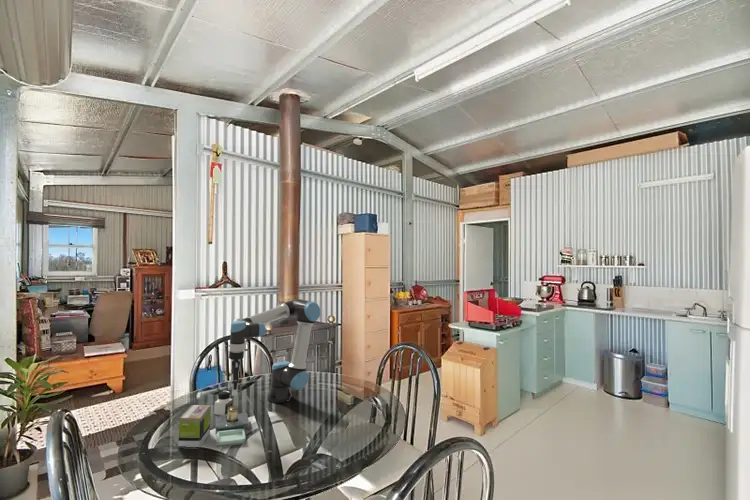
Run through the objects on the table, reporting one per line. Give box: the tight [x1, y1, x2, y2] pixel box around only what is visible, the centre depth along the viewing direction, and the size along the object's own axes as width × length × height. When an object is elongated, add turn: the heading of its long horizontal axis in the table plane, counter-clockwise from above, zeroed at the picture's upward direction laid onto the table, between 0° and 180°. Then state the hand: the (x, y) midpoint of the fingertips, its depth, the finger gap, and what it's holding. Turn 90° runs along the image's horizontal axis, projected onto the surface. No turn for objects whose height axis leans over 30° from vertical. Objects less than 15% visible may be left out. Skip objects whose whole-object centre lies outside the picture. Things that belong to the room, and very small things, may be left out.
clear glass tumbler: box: [227, 405, 239, 422], centre depth 201 cm, size 5×5×10 cm
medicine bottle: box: [213, 390, 233, 416], centre depth 217 cm, size 7×7×12 cm
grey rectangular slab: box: [215, 412, 250, 435], centre depth 201 cm, size 16×13×4 cm
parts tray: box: [216, 428, 246, 448], centre depth 188 cm, size 13×11×2 cm
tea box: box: [177, 404, 212, 448], centre depth 185 cm, size 15×10×15 cm, turn 5°
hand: (233, 390), depth 201 cm, fingers open, 13 cm apart
